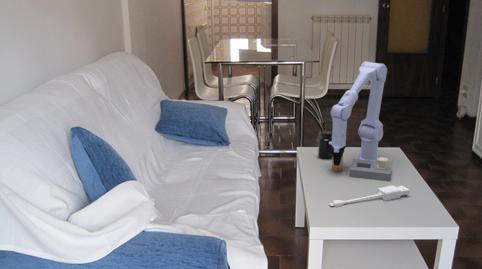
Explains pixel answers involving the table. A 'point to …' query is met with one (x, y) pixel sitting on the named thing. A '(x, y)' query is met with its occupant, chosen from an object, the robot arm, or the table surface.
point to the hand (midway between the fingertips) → (337, 163)
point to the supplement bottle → (325, 145)
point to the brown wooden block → (335, 167)
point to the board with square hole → (371, 169)
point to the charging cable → (378, 195)
